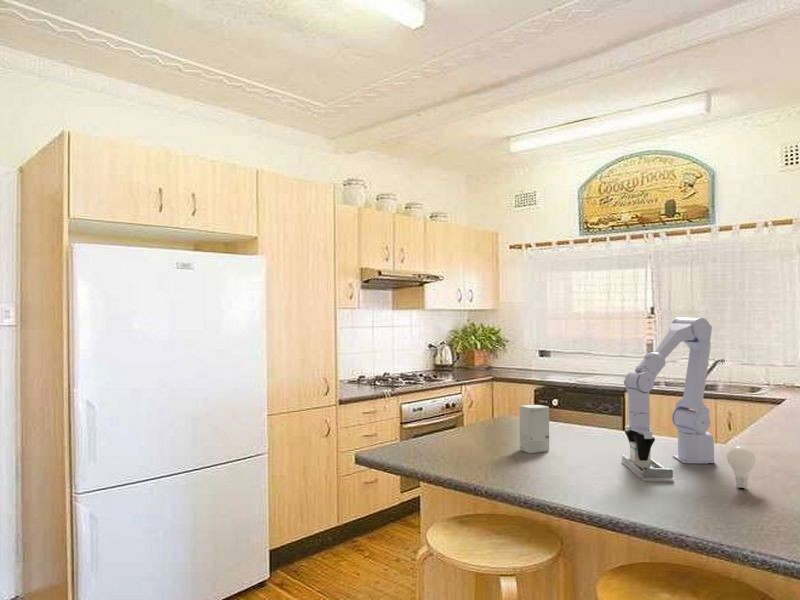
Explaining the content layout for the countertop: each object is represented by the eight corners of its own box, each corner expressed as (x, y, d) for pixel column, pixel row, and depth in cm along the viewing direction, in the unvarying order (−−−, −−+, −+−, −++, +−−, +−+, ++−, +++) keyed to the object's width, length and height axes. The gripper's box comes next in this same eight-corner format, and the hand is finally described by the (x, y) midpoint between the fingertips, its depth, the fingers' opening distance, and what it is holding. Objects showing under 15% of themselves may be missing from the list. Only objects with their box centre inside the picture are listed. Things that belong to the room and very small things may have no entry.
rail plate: (648, 462, 167) (648, 452, 167) (674, 481, 149) (673, 469, 149) (621, 462, 167) (621, 451, 167) (643, 481, 149) (643, 469, 149)
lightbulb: (756, 494, 138) (755, 450, 139) (727, 489, 142) (726, 447, 142) (755, 487, 144) (755, 445, 144) (727, 482, 147) (727, 442, 147)
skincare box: (529, 454, 177) (529, 408, 178) (518, 449, 183) (518, 405, 183) (550, 451, 181) (550, 406, 181) (539, 447, 186) (538, 403, 186)
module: (645, 461, 165) (645, 441, 165) (650, 465, 161) (650, 445, 161) (629, 461, 165) (629, 441, 165) (634, 465, 161) (634, 445, 161)
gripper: (617, 407, 171) (617, 450, 171) (634, 416, 156) (634, 464, 156) (640, 407, 170) (641, 451, 170) (659, 416, 156) (660, 464, 156)
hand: (639, 457), depth 163 cm, fingers open, 5 cm apart
